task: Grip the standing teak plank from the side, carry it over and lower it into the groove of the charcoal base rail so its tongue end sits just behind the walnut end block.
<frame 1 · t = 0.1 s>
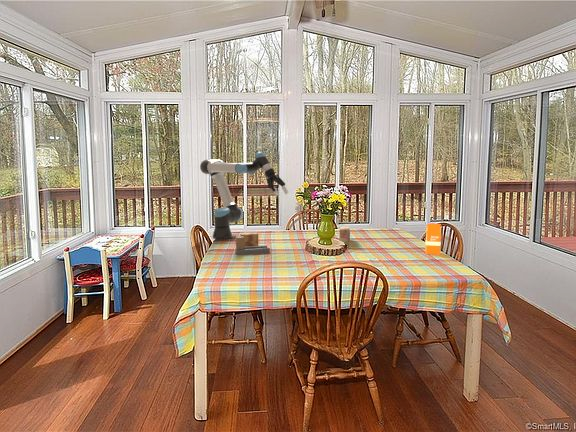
hand: (282, 194, 339), 36 cm above the table, tool tilted 35°, fingers open, 13 cm apart
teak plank: (249, 247, 323), on the table
base rail: (252, 252, 308), on the table
orange juice: (432, 253, 305), on the table
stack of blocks: (344, 243, 339), on the table
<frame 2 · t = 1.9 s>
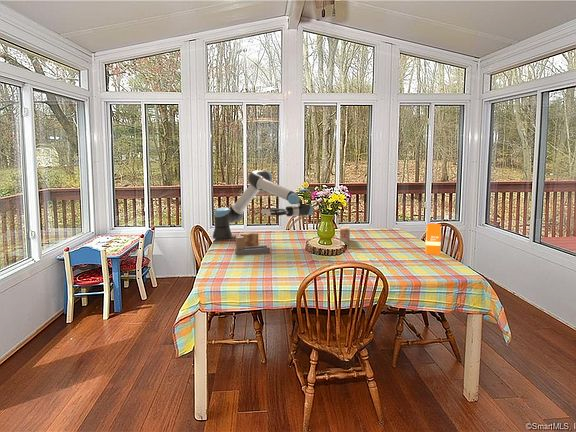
hand: (263, 212, 323), 25 cm above the table, tool horizontal, fingers open, 13 cm apart
nothing on the table moved.
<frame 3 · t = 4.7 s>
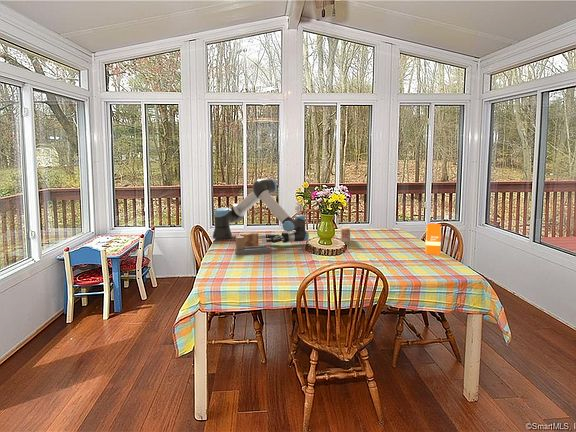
hand: (259, 239, 324), 6 cm above the table, tool horizontal, fingers open, 13 cm apart
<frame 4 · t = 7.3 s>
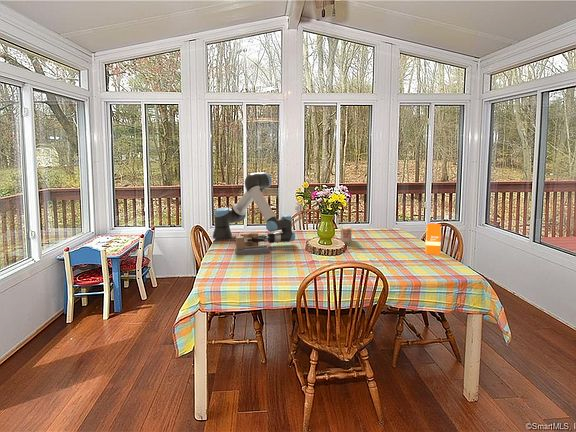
hand: (242, 239, 321), 6 cm above the table, tool horizontal, fingers closed on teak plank, 4 cm apart
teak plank: (249, 247, 323), on the table, touching gripper
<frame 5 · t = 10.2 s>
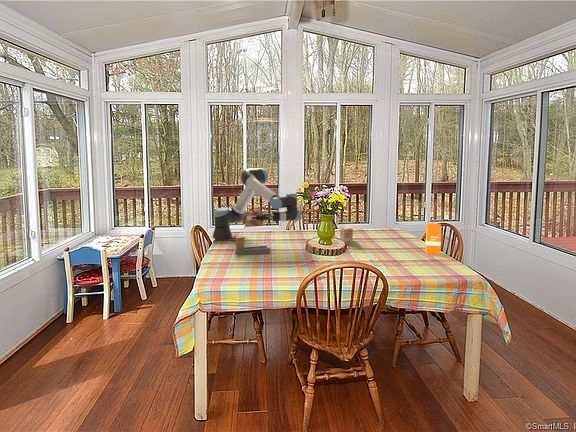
hand: (246, 217, 311), 23 cm above the table, tool horizontal, fingers closed on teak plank, 4 cm apart
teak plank: (253, 226, 313), point 17 cm above the table, touching gripper
when the fingers open (9 cm above the table, at t = 13.0 s): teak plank drops 1 cm, resting on base rail.
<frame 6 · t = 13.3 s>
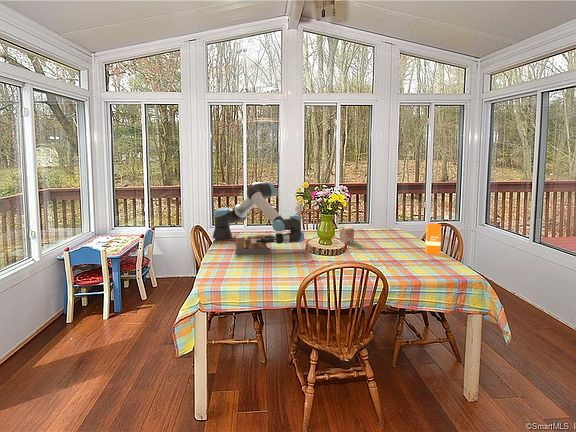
hand: (249, 240, 306), 9 cm above the table, tool horizontal, fingers open, 8 cm apart
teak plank: (256, 250, 309), point 1 cm above the table, touching base rail
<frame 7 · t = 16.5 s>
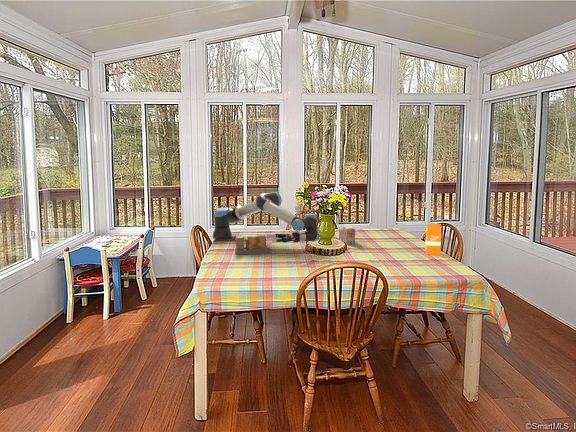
hand: (269, 238, 310), 9 cm above the table, tool horizontal, fingers open, 13 cm apart
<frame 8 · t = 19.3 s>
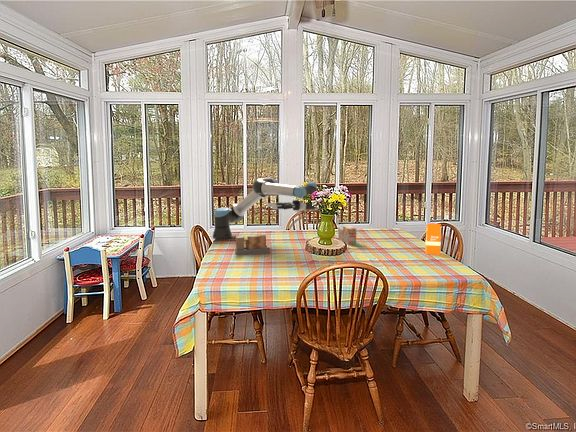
hand: (269, 206, 316), 30 cm above the table, tool horizontal, fingers open, 13 cm apart
at the end: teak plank 0.2 cm from the target spot on the base rail, point 1.2 cm above the base rail's base; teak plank tilted 0°; the gripper is holding nothing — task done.
